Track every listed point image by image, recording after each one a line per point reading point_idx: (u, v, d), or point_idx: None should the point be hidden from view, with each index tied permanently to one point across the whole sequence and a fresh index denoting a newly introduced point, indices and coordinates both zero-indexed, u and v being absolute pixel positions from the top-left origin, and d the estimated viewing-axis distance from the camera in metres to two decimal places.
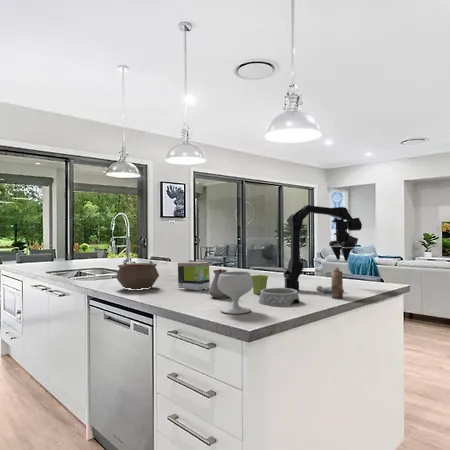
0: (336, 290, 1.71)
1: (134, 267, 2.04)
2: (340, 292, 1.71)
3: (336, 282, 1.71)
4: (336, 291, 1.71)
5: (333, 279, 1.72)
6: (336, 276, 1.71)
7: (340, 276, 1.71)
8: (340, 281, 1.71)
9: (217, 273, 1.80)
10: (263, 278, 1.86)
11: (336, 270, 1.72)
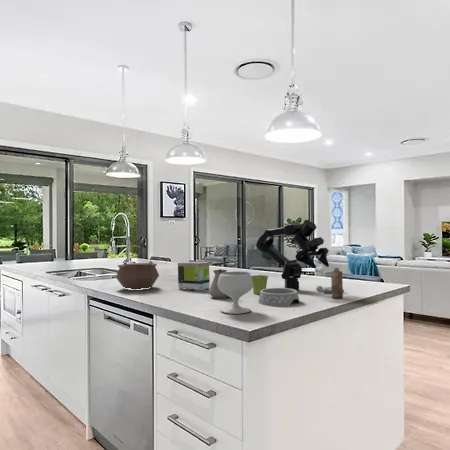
0: (336, 290, 1.71)
1: (134, 267, 2.04)
2: (340, 292, 1.71)
3: (336, 282, 1.71)
4: (336, 291, 1.71)
5: (333, 279, 1.72)
6: (336, 276, 1.71)
7: (340, 276, 1.71)
8: (340, 281, 1.71)
9: (217, 273, 1.80)
10: (263, 278, 1.86)
11: (336, 270, 1.72)
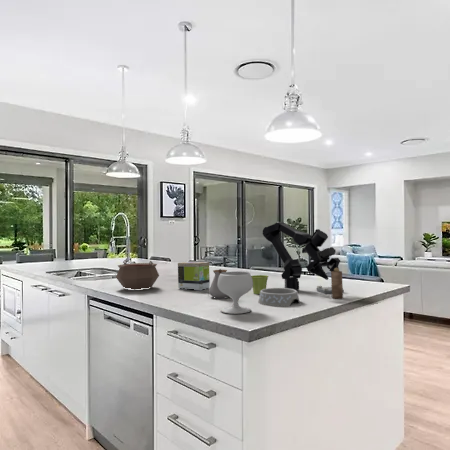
0: (336, 290, 1.71)
1: (134, 267, 2.04)
2: (340, 292, 1.71)
3: (336, 282, 1.71)
4: (336, 291, 1.71)
5: (333, 279, 1.72)
6: (336, 276, 1.71)
7: (340, 276, 1.71)
8: (340, 281, 1.71)
9: (217, 273, 1.80)
10: (263, 278, 1.86)
11: (336, 270, 1.72)
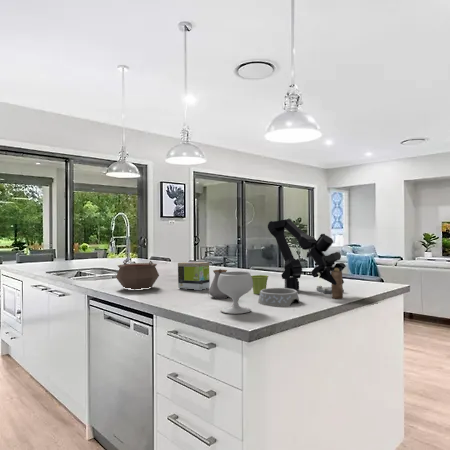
0: (336, 290, 1.71)
1: (134, 267, 2.04)
2: (340, 292, 1.71)
3: (336, 282, 1.71)
4: (336, 291, 1.71)
5: None
6: (336, 276, 1.71)
7: (340, 276, 1.71)
8: (340, 281, 1.71)
9: (217, 273, 1.80)
10: (263, 278, 1.86)
11: (336, 270, 1.72)
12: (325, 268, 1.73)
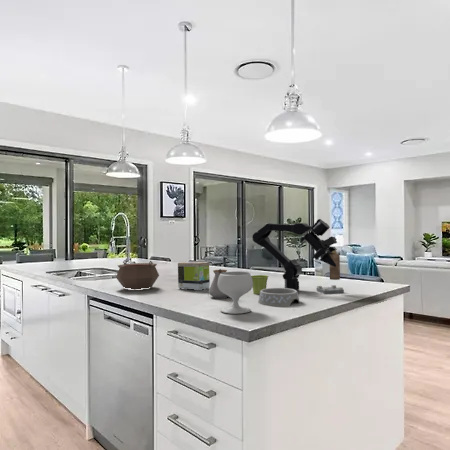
0: (335, 271, 1.81)
1: (134, 267, 2.04)
2: (338, 273, 1.82)
3: None
4: (335, 272, 1.81)
5: None
6: (335, 258, 1.82)
7: (338, 258, 1.82)
8: (338, 263, 1.82)
9: (217, 273, 1.80)
10: (263, 278, 1.86)
11: (334, 253, 1.83)
12: (326, 251, 1.82)
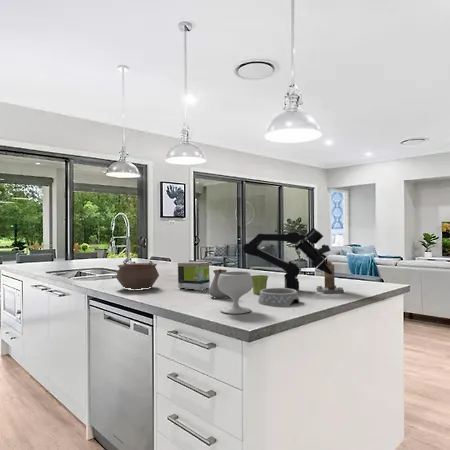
0: (331, 281, 1.88)
1: (134, 267, 2.04)
2: (334, 283, 1.89)
3: (331, 274, 1.88)
4: (331, 282, 1.88)
5: None
6: (331, 268, 1.88)
7: None
8: None
9: (217, 273, 1.80)
10: (263, 278, 1.86)
11: (330, 263, 1.89)
12: None
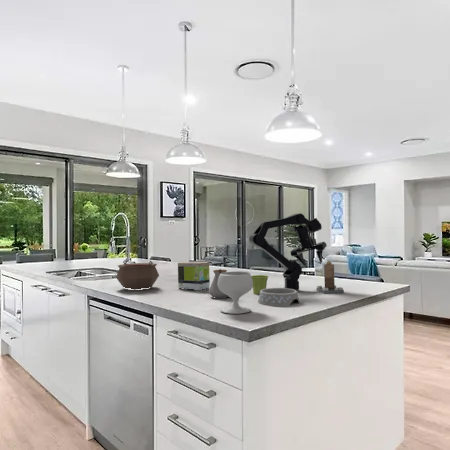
0: (331, 281, 1.88)
1: (134, 267, 2.04)
2: (334, 283, 1.89)
3: (331, 274, 1.88)
4: (331, 282, 1.88)
5: (328, 272, 1.88)
6: (331, 268, 1.88)
7: (333, 268, 1.89)
8: (333, 273, 1.89)
9: (217, 273, 1.80)
10: (263, 278, 1.86)
11: (330, 263, 1.89)
12: None
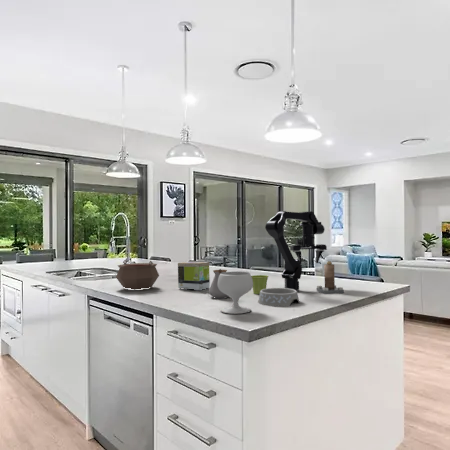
0: (331, 281, 1.88)
1: (134, 267, 2.04)
2: (334, 283, 1.89)
3: (331, 274, 1.88)
4: (331, 282, 1.88)
5: (328, 271, 1.88)
6: (331, 268, 1.88)
7: None
8: None
9: (217, 273, 1.80)
10: (263, 278, 1.86)
11: (330, 263, 1.89)
12: None
